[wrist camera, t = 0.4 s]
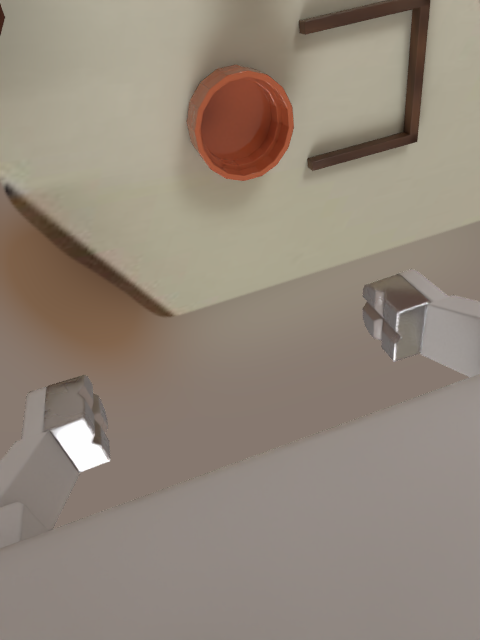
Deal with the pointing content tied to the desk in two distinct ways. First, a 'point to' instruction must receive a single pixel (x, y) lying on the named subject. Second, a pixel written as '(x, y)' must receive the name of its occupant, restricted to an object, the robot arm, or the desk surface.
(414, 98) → the frame
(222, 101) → the bowl
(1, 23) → the ice cream bowl
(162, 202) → the desk surface
